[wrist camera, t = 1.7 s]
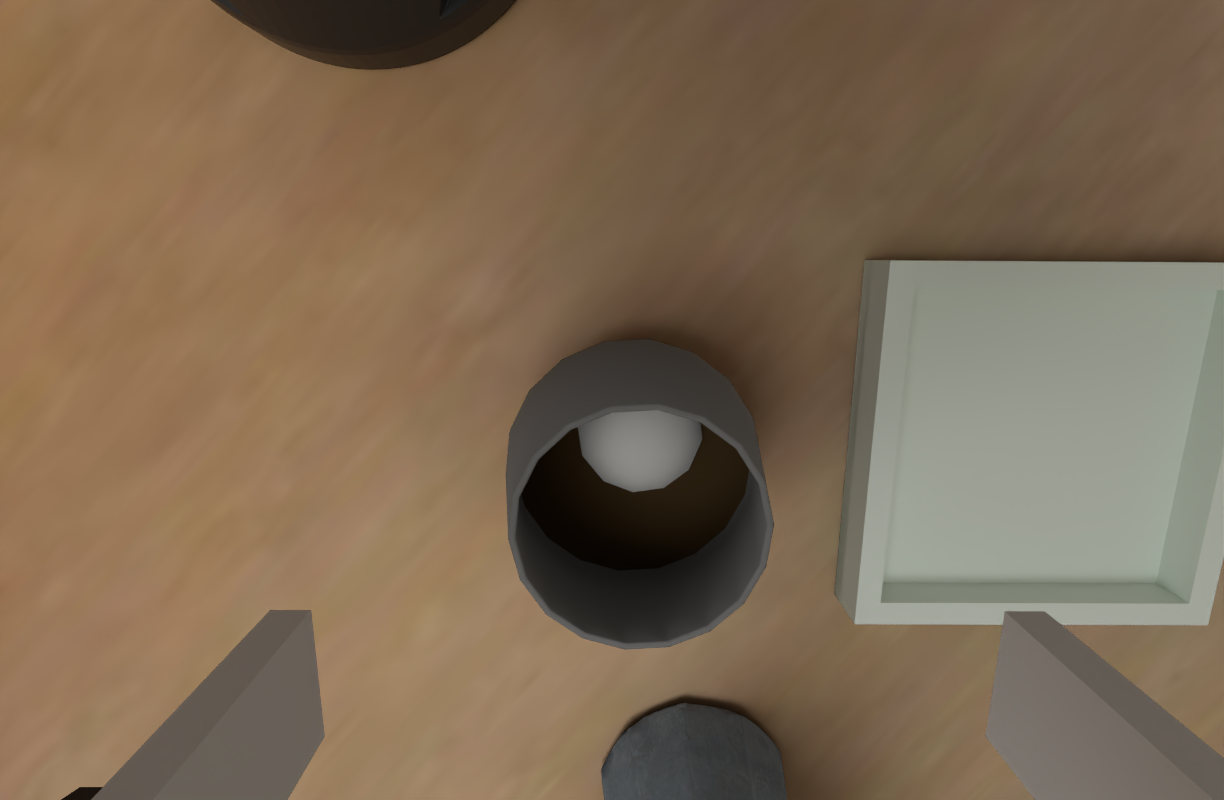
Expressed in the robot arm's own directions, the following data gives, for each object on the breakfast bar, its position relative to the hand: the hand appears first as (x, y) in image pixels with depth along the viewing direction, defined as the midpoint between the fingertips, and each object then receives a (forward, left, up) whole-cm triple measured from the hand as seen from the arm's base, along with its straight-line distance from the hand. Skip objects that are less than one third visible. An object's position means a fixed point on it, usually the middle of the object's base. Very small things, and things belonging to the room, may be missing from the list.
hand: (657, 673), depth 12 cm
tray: (0, +17, -16) cm, 23 cm away
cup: (0, 0, -16) cm, 16 cm away
